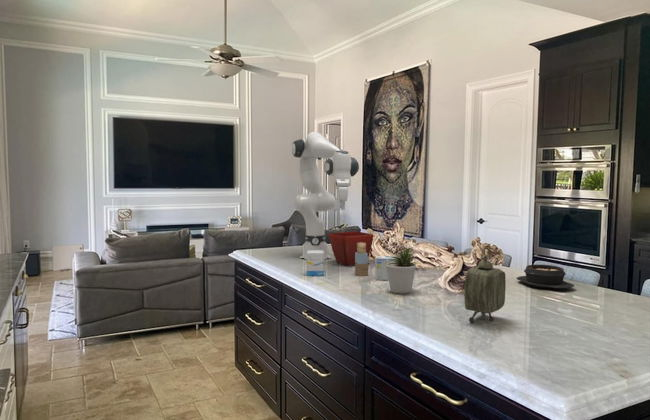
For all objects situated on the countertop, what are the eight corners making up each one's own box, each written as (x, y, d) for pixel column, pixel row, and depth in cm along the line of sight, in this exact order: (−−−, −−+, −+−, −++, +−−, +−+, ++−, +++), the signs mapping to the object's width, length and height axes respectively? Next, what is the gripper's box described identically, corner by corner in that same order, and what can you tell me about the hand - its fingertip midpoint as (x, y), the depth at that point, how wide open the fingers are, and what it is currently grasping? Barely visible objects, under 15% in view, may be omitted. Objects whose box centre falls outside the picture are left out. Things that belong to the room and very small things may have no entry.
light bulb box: (397, 277, 231) (397, 255, 230) (398, 280, 225) (398, 258, 224) (375, 277, 232) (375, 255, 231) (375, 280, 226) (375, 257, 225)
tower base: (355, 273, 241) (354, 262, 241) (366, 273, 241) (366, 261, 241) (356, 276, 235) (356, 264, 235) (368, 276, 235) (368, 264, 235)
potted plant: (418, 295, 196) (419, 247, 195) (384, 294, 199) (385, 246, 197) (418, 288, 208) (419, 243, 207) (387, 287, 211) (387, 242, 210)
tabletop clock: (480, 313, 172) (481, 244, 170) (505, 317, 166) (507, 246, 164) (463, 322, 160) (465, 249, 159) (490, 328, 155) (492, 251, 153)
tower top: (355, 262, 240) (355, 252, 239) (364, 261, 241) (364, 252, 240) (357, 264, 235) (357, 254, 234) (367, 263, 236) (367, 253, 235)
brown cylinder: (356, 252, 240) (356, 242, 239) (365, 252, 240) (365, 242, 239) (357, 253, 235) (357, 243, 235) (366, 253, 235) (366, 243, 235)
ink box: (323, 276, 236) (323, 252, 235) (306, 276, 236) (306, 252, 235) (324, 272, 244) (324, 250, 243) (307, 272, 244) (307, 250, 243)
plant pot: (328, 262, 274) (328, 232, 272) (357, 259, 282) (357, 231, 280) (343, 267, 256) (343, 236, 255) (374, 264, 264) (374, 234, 263)
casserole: (506, 282, 219) (507, 264, 219) (533, 278, 228) (534, 261, 228) (556, 294, 197) (556, 274, 197) (583, 289, 206) (584, 270, 206)
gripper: (335, 182, 255) (335, 207, 256) (337, 182, 235) (337, 210, 236) (347, 182, 255) (347, 207, 256) (349, 182, 235) (349, 210, 236)
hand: (342, 209), depth 246 cm, fingers open, 8 cm apart
